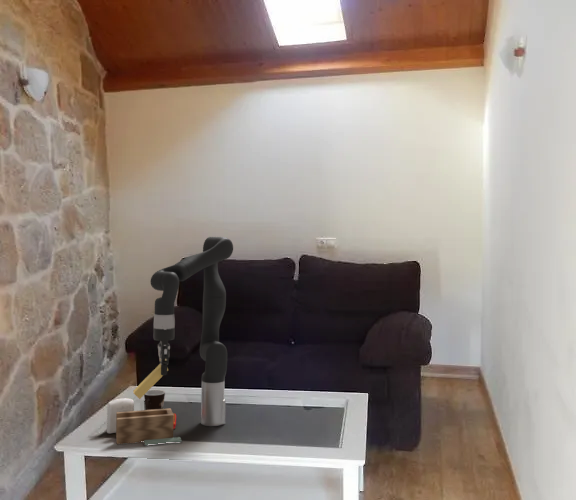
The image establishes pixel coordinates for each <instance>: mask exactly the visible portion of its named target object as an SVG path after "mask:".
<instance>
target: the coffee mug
mask: <svg viewBox="0 0 576 500" xmlns="http://www.w3.org/2000/svg"><path fill="white" fill-rule="evenodd" d="M165 395H166V391H164V390H161V389H149V390H148V391H147V392H146V393H145V394H144V395H143V397H144V405H145V406H144V408H145V410H154V409H164V403H165Z"/></svg>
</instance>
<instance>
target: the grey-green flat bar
mask: <svg viewBox="0 0 576 500" xmlns="http://www.w3.org/2000/svg"><path fill="white" fill-rule="evenodd" d="M182 441H183V440H182V438H181V437H180V436H177V437H176V436H175V437H173V438H164V439H152V440H144V442H143V444H144V443H145V444H144V446H145V445H148V444H158V443H166V442H182Z"/></svg>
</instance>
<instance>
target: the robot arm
mask: <svg viewBox="0 0 576 500" xmlns="http://www.w3.org/2000/svg"><path fill="white" fill-rule="evenodd" d="M233 251H234V244H233V242H232V240H231V239H230V238H228V237H223V236H209V237H207V238H206V239H205V240H204V242H203V245H202V252H199V253H195V254H192V255H190V256H188V257H185V258H183V259H181V260H180V261H178V262H176V263H175V264H173V265H169V266H167V267H164V268H161V269H159V270H157V271H155V272H154V273H153V274H152V275H151V277H150V285H151V287H152V288H153V289H154V290H156V291H158V292H160V291H161V292H162V295H161V297H158V298H156V299H155V300H154V316H153V336H152V337H153V340H154V341H156V342H157V341H158V342H159V343H158V344H157V350H158V359H159V360H158V361H159V364H160V363H161V375H163V376H167V375H168V371H167V368H168V365H169V363H170V361H169V360H170V349H171V345H170V343H169V341H173V340H175V335H176V334H175V329H176V328H175V326H176V320H175V301H176V299H177V295H178V291H179V288H180V282H184V281H186V280H187V279H189V278H190V277H191V276H194V275H195V274H197V273H199V272H200V271H202V270H203V294H202V328H201V329H202V330H201V331H202V332H201V335H200V336H201V337H200V344H199V355H200V358H201V359H202V360H203V361H204V362H205V366H204V367H205V370H204V372H203V373H202V374H201V396H200V397H201V402H200V403H201V408H200V413H201V414H200V424H201V425H203V426H206V427H217V426H222V425H226V399H225V384H226V383H225V379H226V378H225V377H226V374H227V370H228V350H227V347H226V345H224V343H222V342H220V326H221V323H222V320H223V318H224V314H225V311H226V305H227V303H226V302H227V292H226V287H225V285H224V283H223V281H222V279H221V276H220V274H219V269H218V264H219V262H222V261H225V260H227V259H229V258H231V256H232V255H233V253H234V252H233Z"/></svg>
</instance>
